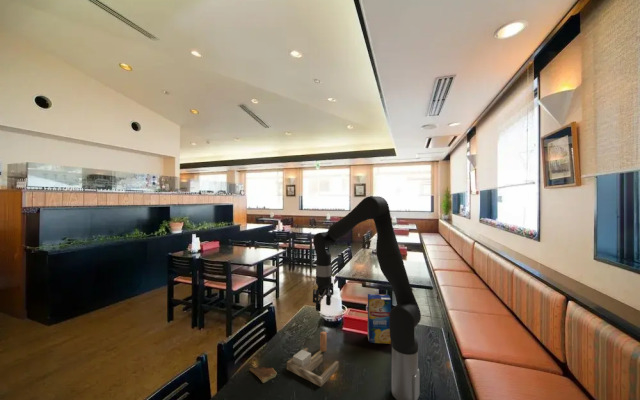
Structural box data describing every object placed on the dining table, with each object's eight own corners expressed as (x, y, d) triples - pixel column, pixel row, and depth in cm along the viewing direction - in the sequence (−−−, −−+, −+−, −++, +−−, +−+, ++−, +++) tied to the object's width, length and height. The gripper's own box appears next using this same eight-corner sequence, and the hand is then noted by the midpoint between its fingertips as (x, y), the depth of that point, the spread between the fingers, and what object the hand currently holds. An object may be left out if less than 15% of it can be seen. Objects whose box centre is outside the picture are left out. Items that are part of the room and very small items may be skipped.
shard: (249, 371, 105) (249, 366, 105) (265, 363, 110) (265, 359, 110) (262, 385, 97) (262, 380, 97) (279, 375, 103) (279, 371, 103)
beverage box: (391, 343, 126) (391, 299, 126) (368, 342, 127) (369, 298, 127) (388, 336, 133) (388, 294, 133) (367, 335, 134) (367, 293, 134)
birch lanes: (338, 368, 106) (338, 361, 106) (320, 387, 96) (320, 379, 96) (305, 354, 117) (305, 347, 117) (286, 369, 106) (286, 361, 106)
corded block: (329, 350, 120) (329, 333, 120) (302, 374, 103) (302, 354, 103) (320, 346, 123) (321, 330, 123) (293, 369, 106) (293, 350, 106)
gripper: (321, 279, 112) (321, 315, 112) (338, 271, 124) (337, 305, 124) (308, 276, 117) (308, 311, 116) (325, 269, 128) (325, 301, 128)
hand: (323, 307), depth 120 cm, fingers open, 8 cm apart
